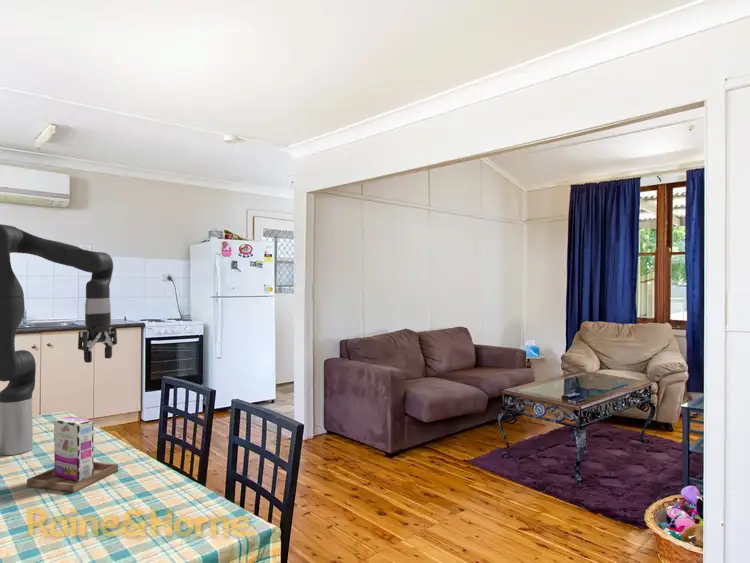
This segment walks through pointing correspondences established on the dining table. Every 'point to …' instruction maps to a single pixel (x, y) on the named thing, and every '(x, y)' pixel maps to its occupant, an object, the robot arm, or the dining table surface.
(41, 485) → the walnut tray
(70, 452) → the candy bar box
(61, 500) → the dining table surface
